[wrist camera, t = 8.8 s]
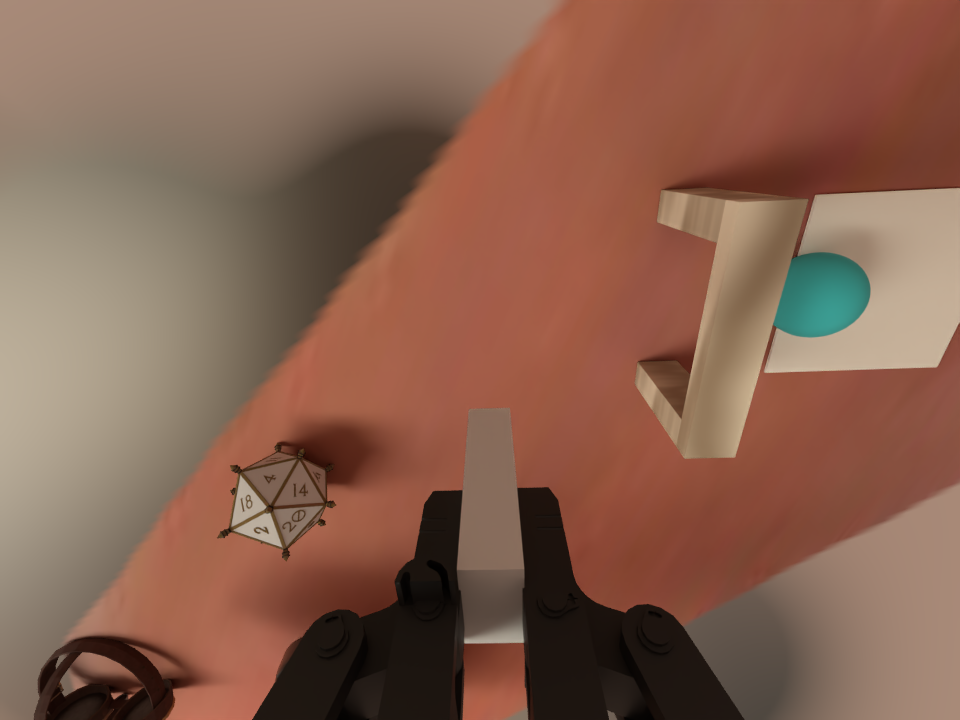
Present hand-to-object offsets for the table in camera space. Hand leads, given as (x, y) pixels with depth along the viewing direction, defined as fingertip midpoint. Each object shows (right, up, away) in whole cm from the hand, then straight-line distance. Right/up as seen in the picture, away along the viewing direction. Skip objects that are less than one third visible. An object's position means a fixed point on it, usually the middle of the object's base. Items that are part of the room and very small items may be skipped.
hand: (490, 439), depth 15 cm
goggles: (-47, -36, +37) cm, 70 cm away
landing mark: (+28, +8, +14) cm, 32 cm away
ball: (+21, +7, +11) cm, 25 cm away
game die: (-17, -7, +22) cm, 28 cm away
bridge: (+13, +8, +14) cm, 21 cm away
